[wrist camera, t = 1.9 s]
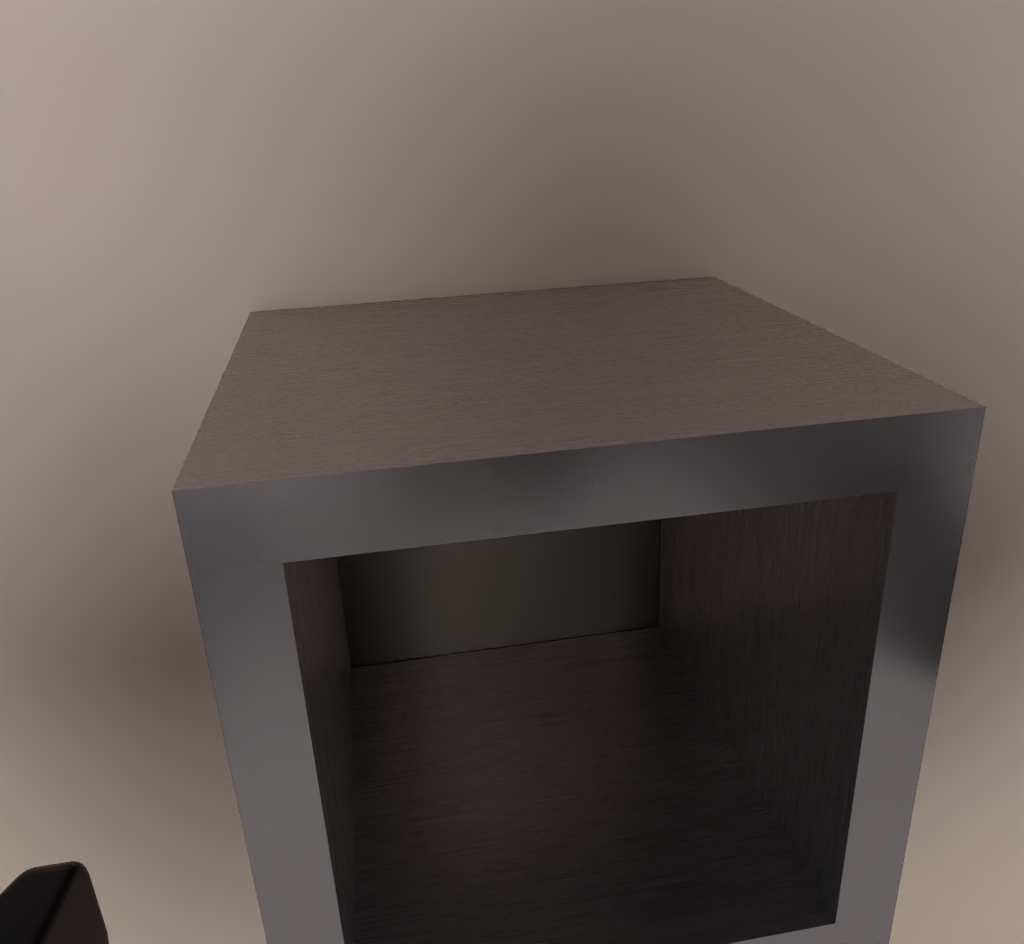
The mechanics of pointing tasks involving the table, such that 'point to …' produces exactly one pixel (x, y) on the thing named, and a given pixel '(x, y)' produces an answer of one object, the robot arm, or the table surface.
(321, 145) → the table surface
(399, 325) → the collar
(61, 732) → the table surface
